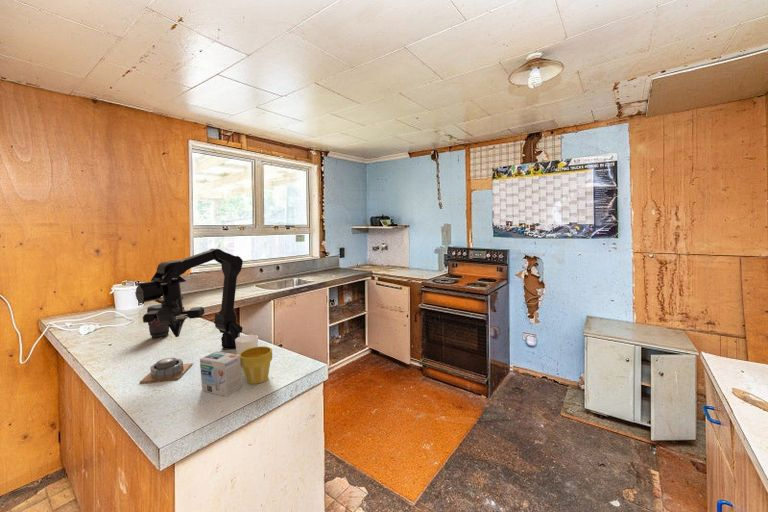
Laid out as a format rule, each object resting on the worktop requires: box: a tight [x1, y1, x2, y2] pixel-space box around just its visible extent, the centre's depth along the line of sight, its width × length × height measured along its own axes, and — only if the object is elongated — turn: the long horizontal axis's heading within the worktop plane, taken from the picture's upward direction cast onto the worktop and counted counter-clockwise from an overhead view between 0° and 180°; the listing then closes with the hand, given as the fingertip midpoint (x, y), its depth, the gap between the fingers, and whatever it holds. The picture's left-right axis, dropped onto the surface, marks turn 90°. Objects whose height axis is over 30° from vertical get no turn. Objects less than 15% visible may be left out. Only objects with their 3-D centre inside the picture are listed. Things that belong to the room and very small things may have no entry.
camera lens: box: [146, 303, 170, 340], centre depth 155 cm, size 8×8×15 cm
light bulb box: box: [199, 350, 243, 397], centre depth 105 cm, size 11×7×11 cm, turn 69°
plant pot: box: [239, 346, 273, 385], centre depth 110 cm, size 10×10×10 cm
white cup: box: [235, 334, 259, 368], centre depth 123 cm, size 8×8×10 cm
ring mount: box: [139, 358, 193, 384], centre depth 117 cm, size 12×12×3 cm
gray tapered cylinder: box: [155, 357, 177, 369], centre depth 117 cm, size 6×6×4 cm
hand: (177, 336), depth 122 cm, fingers closed
